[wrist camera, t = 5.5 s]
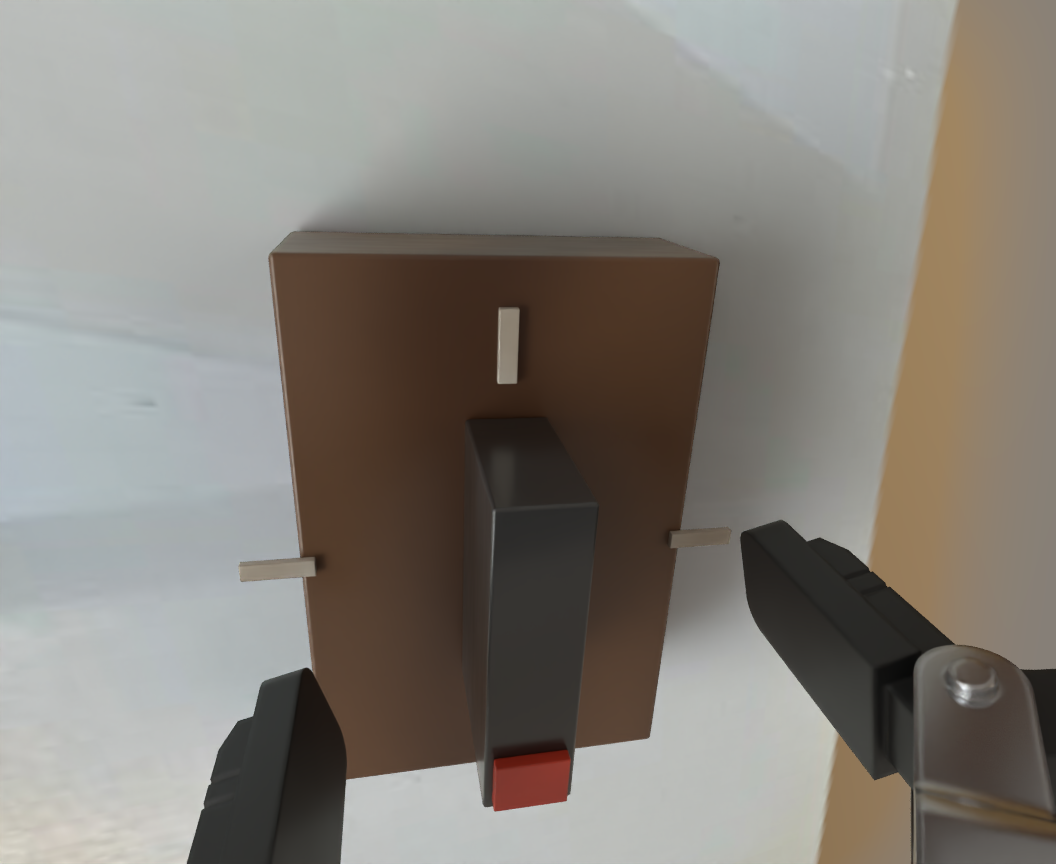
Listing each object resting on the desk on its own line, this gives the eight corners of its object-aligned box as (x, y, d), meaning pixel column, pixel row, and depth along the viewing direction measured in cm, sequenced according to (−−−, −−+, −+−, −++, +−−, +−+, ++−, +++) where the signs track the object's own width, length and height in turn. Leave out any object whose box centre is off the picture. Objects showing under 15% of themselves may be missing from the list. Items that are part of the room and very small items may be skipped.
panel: (707, 238, 15) (781, 259, 13) (649, 654, 20) (694, 739, 17) (231, 229, 13) (191, 252, 11) (289, 693, 18) (272, 797, 15)
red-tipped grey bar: (465, 418, 13) (495, 518, 9) (547, 415, 13) (605, 511, 10) (461, 669, 15) (485, 822, 12) (532, 661, 15) (574, 808, 12)
